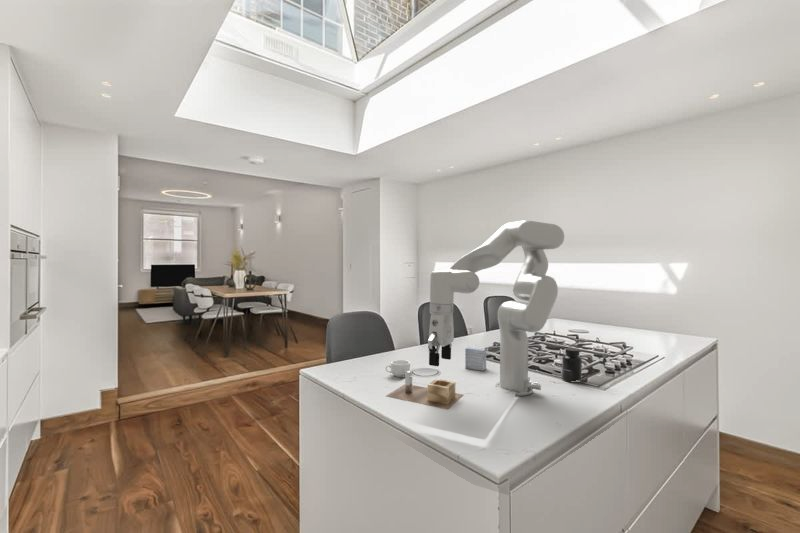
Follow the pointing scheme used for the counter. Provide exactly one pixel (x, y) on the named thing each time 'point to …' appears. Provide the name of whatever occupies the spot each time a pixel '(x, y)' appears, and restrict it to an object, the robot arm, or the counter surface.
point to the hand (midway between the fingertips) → (440, 362)
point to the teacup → (399, 367)
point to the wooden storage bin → (441, 391)
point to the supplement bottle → (571, 365)
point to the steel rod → (408, 382)
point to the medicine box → (475, 358)
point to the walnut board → (420, 396)
